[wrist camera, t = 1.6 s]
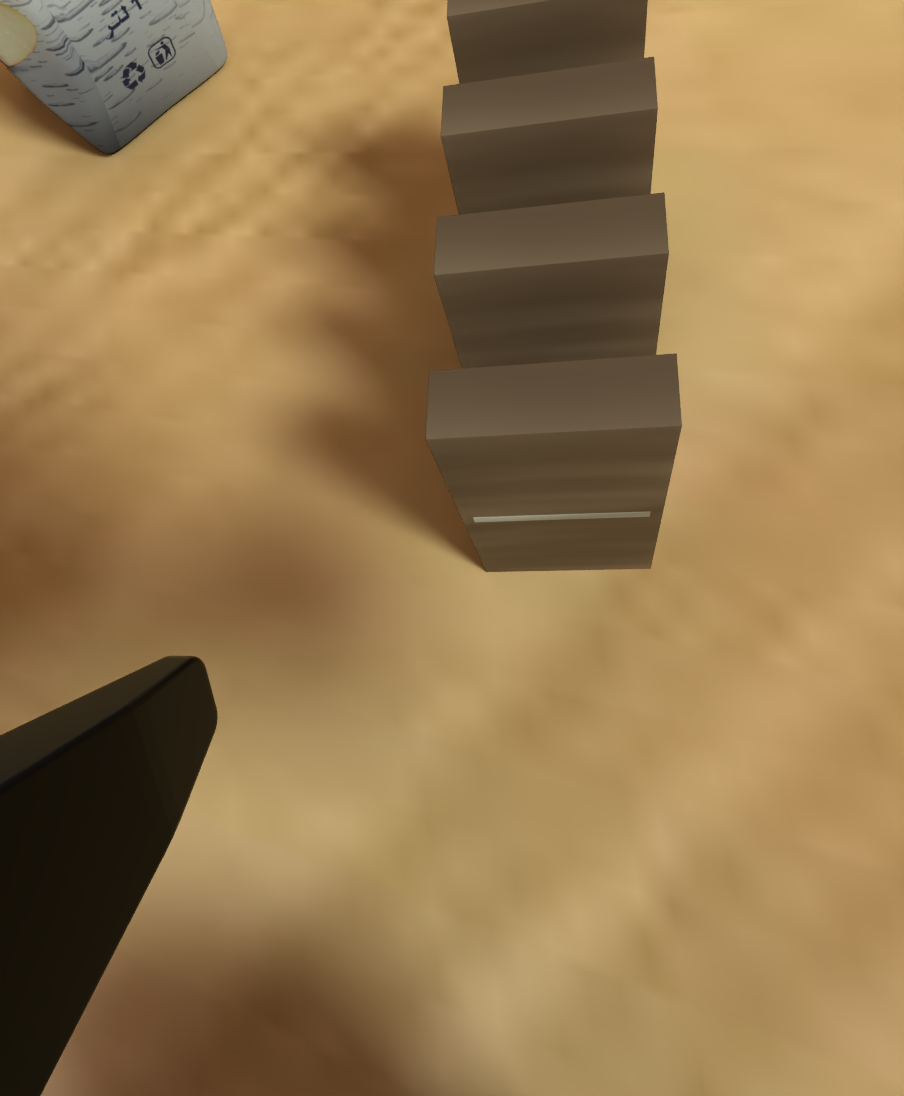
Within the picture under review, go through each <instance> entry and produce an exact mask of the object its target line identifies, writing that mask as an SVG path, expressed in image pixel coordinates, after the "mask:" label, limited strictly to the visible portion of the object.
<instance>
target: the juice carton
mask: <svg viewBox="0 0 904 1096" xmlns="http://www.w3.org/2000/svg"><path fill="white" fill-rule="evenodd" d="M226 59H227V49H226V46H225V42H224V39H223V36H222V33H221V30H220V27H219V24H218V21H217V19H216V16H215V13H214V10H213V7H212V4H211V2H210V0H0V61H1V62H2V63H3V64H4V65H5V66H6V67H7V68H8V70H9V71H10V72H11V73H12V74H13V75H14V76H15V77H16V78H17V79H18V80H19V81H20V82H21V83H22V84H23V85H24V86H25V87H26V88H27V89H28V90H29V91H30V92H31V93H32V94H33V95H35V96H36V97H37V98H38V99H39V100H40V101H41V102H42V103H44V104H45V105H46V106H47V107H48V108H49V109H50V110H52V111H53V112H54V113H55V114H56V115H57V116H58V117H60V118H61V119H62V120H63V121H64V122H65V123H67V124H68V125H69V126H70V127H71V128H72V129H74V130H75V131H76V132H77V133H78V134H79V135H81V136H82V137H83V138H84V139H85V140H87V141H88V142H89V143H90V144H92V145H93V146H94V147H96V148H97V149H98V150H100V151H101V152H104V153H106V154H110V153H114V152H116V151H117V150H119V149H121V148H122V147H123V146H124V145H126V144H127V143H128V142H130V141H131V140H132V139H133V138H135V137H136V136H137V135H138V134H139V133H141V132H142V131H143V130H144V129H145V128H146V127H148V126H149V125H150V124H151V123H152V122H153V121H155V120H156V119H157V118H158V117H159V116H161V115H162V114H163V113H164V112H165V111H167V110H168V109H169V108H170V107H171V106H173V105H174V104H175V103H177V102H178V101H179V100H181V99H182V98H183V97H184V96H186V95H187V94H188V93H190V92H191V91H192V90H194V89H195V88H196V87H198V86H199V85H200V84H202V83H203V82H204V81H205V80H207V79H208V78H209V77H210V76H212V75H213V74H214V73H215V72H216V71H218V70H219V69H220V68H221V67H222V66H223V65H224V64H225V62H226Z"/></svg>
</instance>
